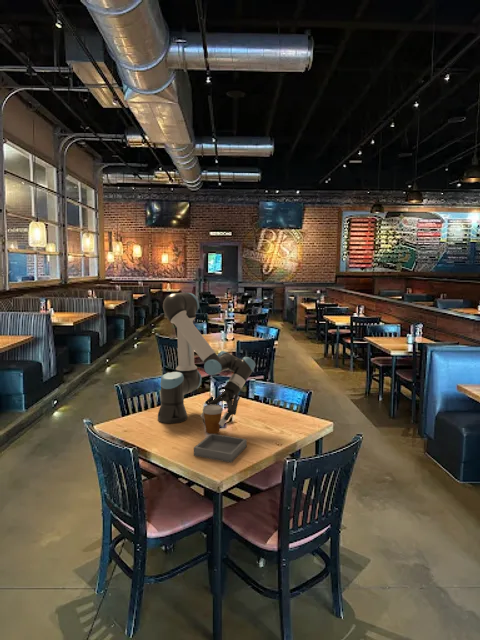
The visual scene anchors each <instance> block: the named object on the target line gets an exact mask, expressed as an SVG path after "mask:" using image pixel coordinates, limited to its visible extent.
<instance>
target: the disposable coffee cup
mask: <svg viewBox="0 0 480 640" xmlns="http://www.w3.org/2000/svg"><path fill="white" fill-rule="evenodd" d="M203 412H204V418H205V419H204V425H205V432H206V433H207V434H209V435H210V434H218V433H220V428H221V425H219V424H218V423H219V422H220V420H221V419H222V413H223V407H222V405H219V404H215V405H211V404H210V405H207V404H206V405H205V406H204V407H203V409H202V413H203Z"/></svg>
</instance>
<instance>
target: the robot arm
mask: <svg viewBox="0 0 480 640" xmlns="http://www.w3.org/2000/svg"><path fill="white" fill-rule="evenodd" d="M162 303H163V304H162V309H163V312H164V314H165V317H166V318H167V320H168V321H169V322H170V323H171V324H174V325H175V327H176V332H177V333H176V334H177V335H176V336H177V357H178V358H177V359H178V361H177V362H178V365H177V367H176V368H175V371H172V372H167V373H165V374H163V375H162V376H161V377H160V382H159V383H160V384H159V385H160V407H159V410H158V413H157V420H158V421H159V422H160V423H164V424H177V423H182V422H186V420H187V419H188V413H187V410H186V407H185V404H184V402H185V401H184V397H185V395H187V394H189V393H193V392H195V391H196V390H198V389H199V388H200V386H201V384H202V379H203V378H202V374H201V373H200V371H199V370H198V366H197V365H195V353H196V355H197V356H198V357H199V358H200V360H201V361H202V362H203V363H204V365H203V368H204V372H205V373H206V375H210V376H215V375H218V374H221V373H222V372H224V371H228V370H229V371H230V372H232V375H231V376H230V378H229V379H228V381H227V383H226V384H225V385H224V389H225V391H224V390H223V391H224V392H222V394H221V395H219V396H218V397H217V398H215V399H214V400H213V397H212V396H210V397H209V398H207V399H206V400H205V404H206V405H218V403H220V402H226V403H227V406H226V407H227V410H226V411H225V412H224V414H223V416H221V420H220V422H219V423H218V424H219V425H220V427H222V428H223V427H224V425H225V424H226V423H227V421H229V419H230V417H231V416H232V415H233V416H235V415H236V414H237V409H238V404H239V401H240V399H241V397H240V396H239V395H238V394H239V393H240V392H241V389H243V386H244V385H245V383H246V382H247V380H248V379H249V377H250V376H251V374H252V373H253V371H254V370H255V367H256V362H255V360H253V359H252V358H251V357H249V356H244V357H242V359H241V358H239V357H237V356H235V355H233V354H231V353H230V352H227V351H224V350H221V351H219V352H218V354H217V353H216V351H215V350H214V349H213V348H212V347H211V345H210V344H209V343H208V340H207V339H206V338H205V337H204V336H203V335H202V333H201V332H200V331H199V329H198V328H197V327H196V326H195V324H194V320H195V319H196V318H197V314H196V313H197V312H198V311H199V308H200V301H199V299H198V297H197V296H196V294H193V293H192V292H191V293H190V292H186V291H185V292H179V293H175V292H174V293H171V294H168V295H167V296H166V297H165V299H164V300H163V302H162ZM200 418H201V419H202V420H205V418H204V412H203V411H202V413H201V414H200Z"/></svg>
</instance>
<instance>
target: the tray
mask: <svg viewBox="0 0 480 640" xmlns="http://www.w3.org/2000/svg"><path fill="white" fill-rule="evenodd" d="M247 443H248V442H247V439H246V438H241V437H234V436H229V435H223V434H218V433H216V434H209V435H208V436H207V437H205V438H204V439H202V440H201V441H200V442H198V444H197V445H195V446H193V456H195V457H200V458H205V459H210V460H214V461H215V460H216V461H221V462H226V463H231V464H232V463H233V462H234V460H235V459H236V458H238V456H240V454H241V453H242V452H244V450H245V449H246V448H247Z"/></svg>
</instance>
